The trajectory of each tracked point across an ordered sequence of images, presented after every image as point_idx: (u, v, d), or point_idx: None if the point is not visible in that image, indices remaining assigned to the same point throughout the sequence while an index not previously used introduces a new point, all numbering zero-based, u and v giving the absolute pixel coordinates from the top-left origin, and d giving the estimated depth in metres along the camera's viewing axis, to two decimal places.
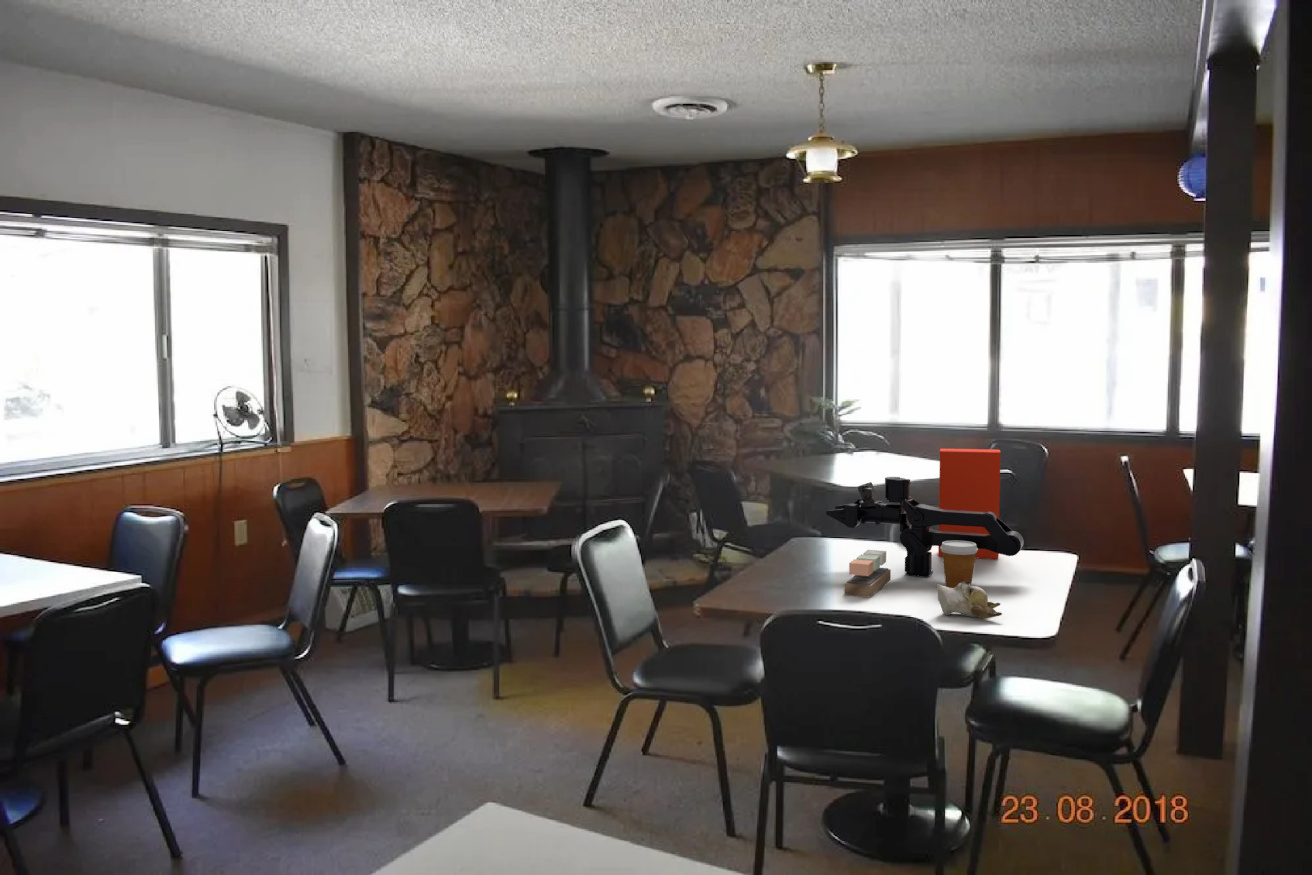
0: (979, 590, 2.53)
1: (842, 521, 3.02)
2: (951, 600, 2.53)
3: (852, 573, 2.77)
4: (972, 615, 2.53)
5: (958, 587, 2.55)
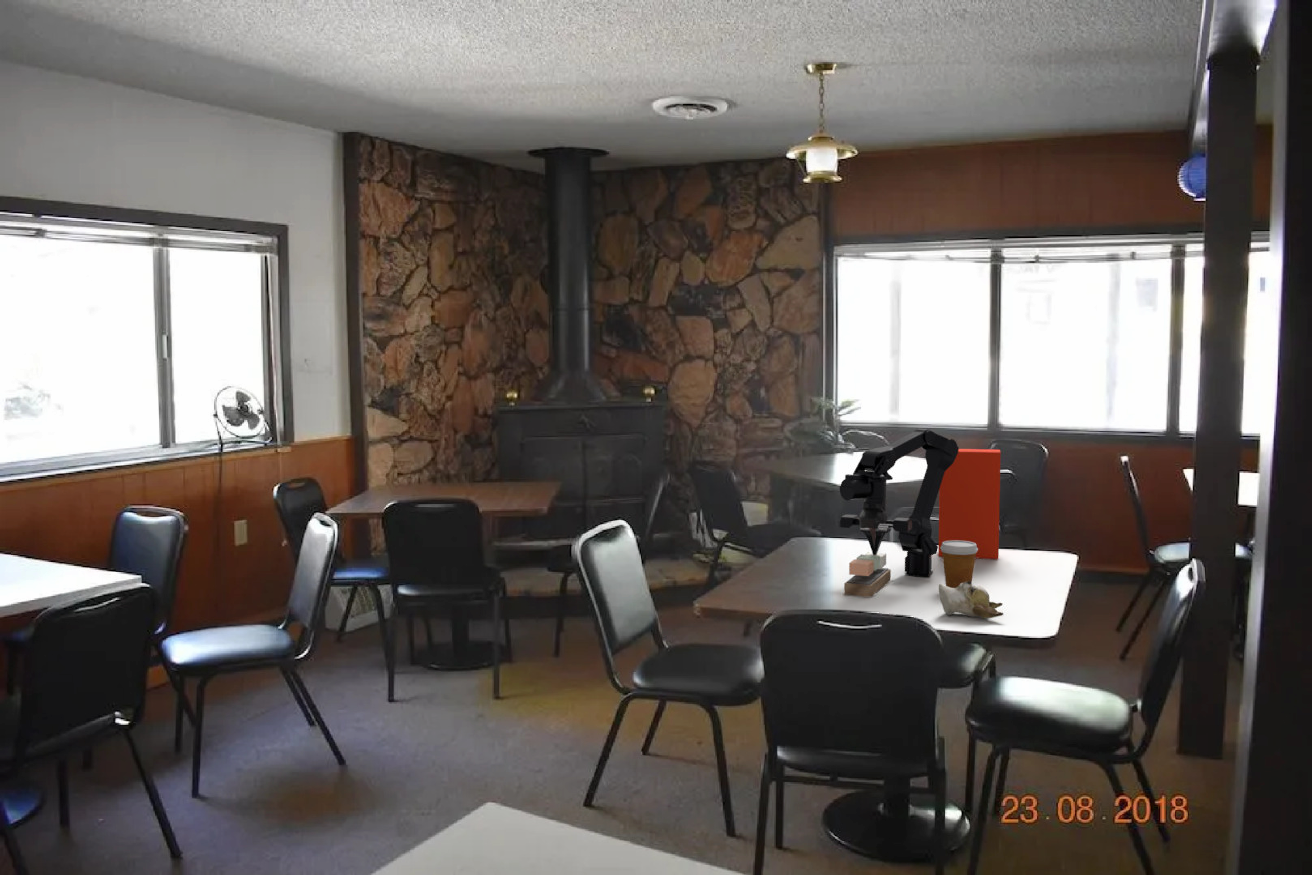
0: (981, 590, 2.53)
1: (884, 534, 2.91)
2: (953, 600, 2.53)
3: (852, 573, 2.77)
4: (974, 615, 2.53)
5: (960, 587, 2.55)
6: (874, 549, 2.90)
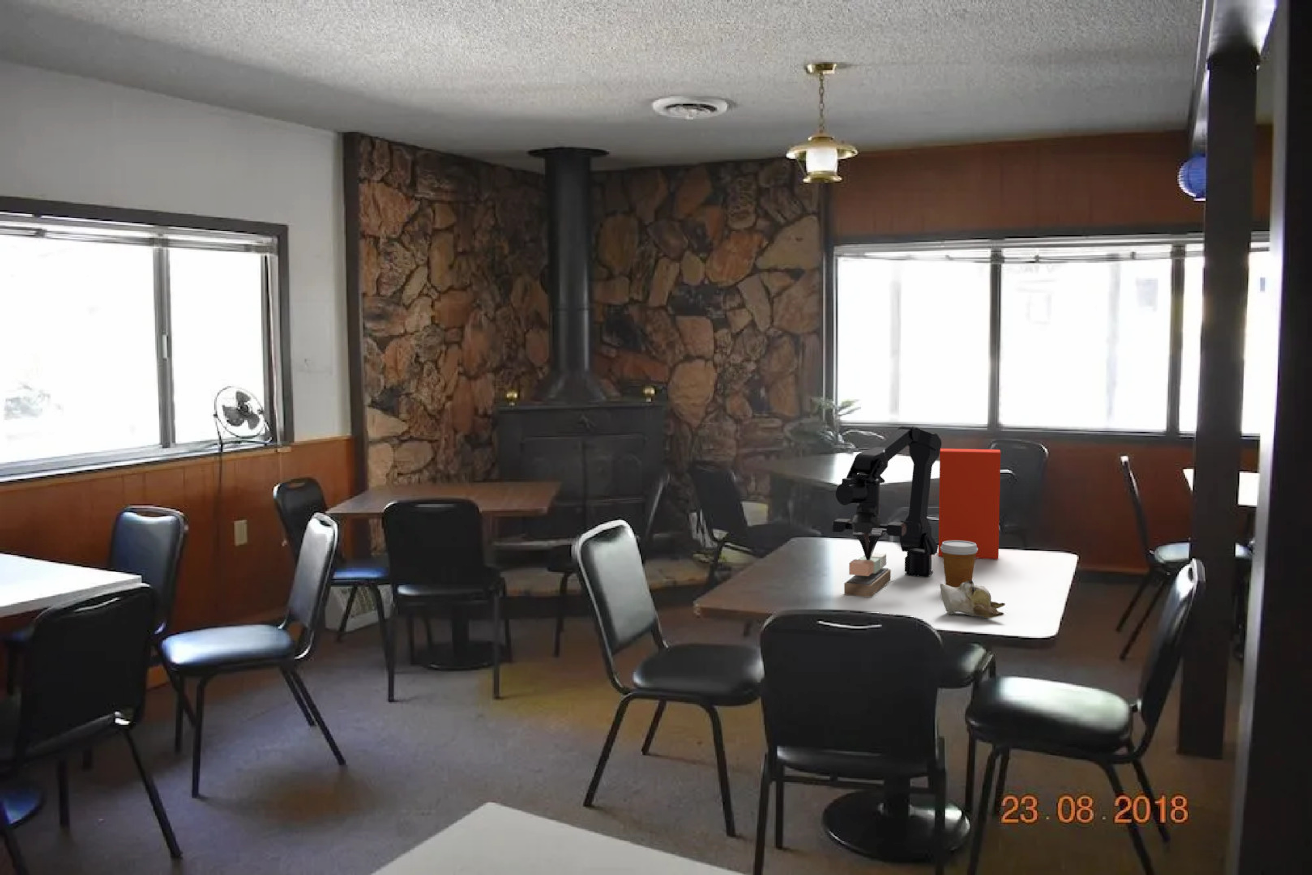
0: (982, 590, 2.53)
1: (877, 539, 2.85)
2: (954, 599, 2.54)
3: (852, 573, 2.77)
4: (975, 615, 2.53)
5: (961, 586, 2.55)
6: (867, 554, 2.84)
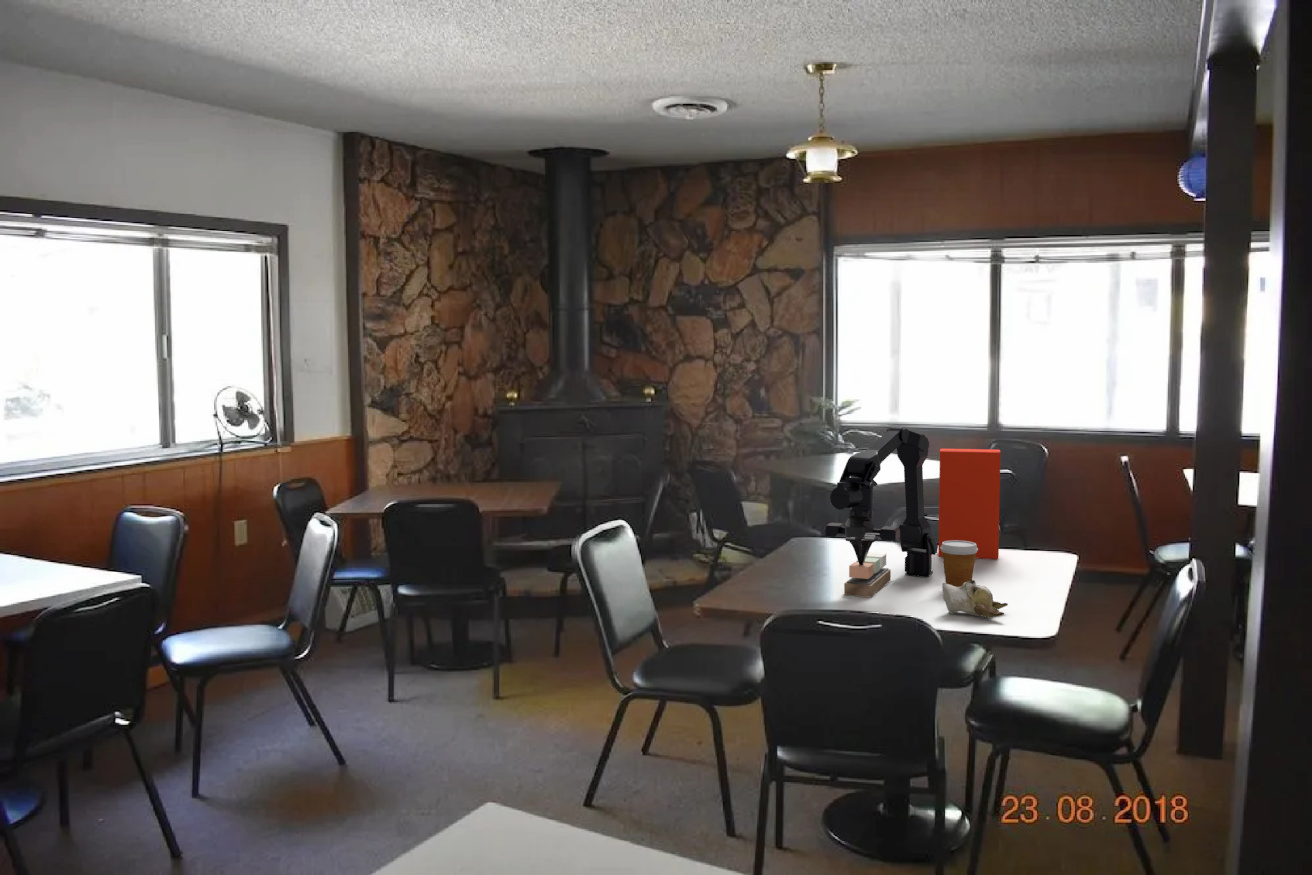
0: (983, 589, 2.53)
1: (870, 543, 2.79)
2: (955, 598, 2.54)
3: (852, 576, 2.77)
4: (976, 614, 2.54)
5: (963, 586, 2.56)
6: (860, 559, 2.77)
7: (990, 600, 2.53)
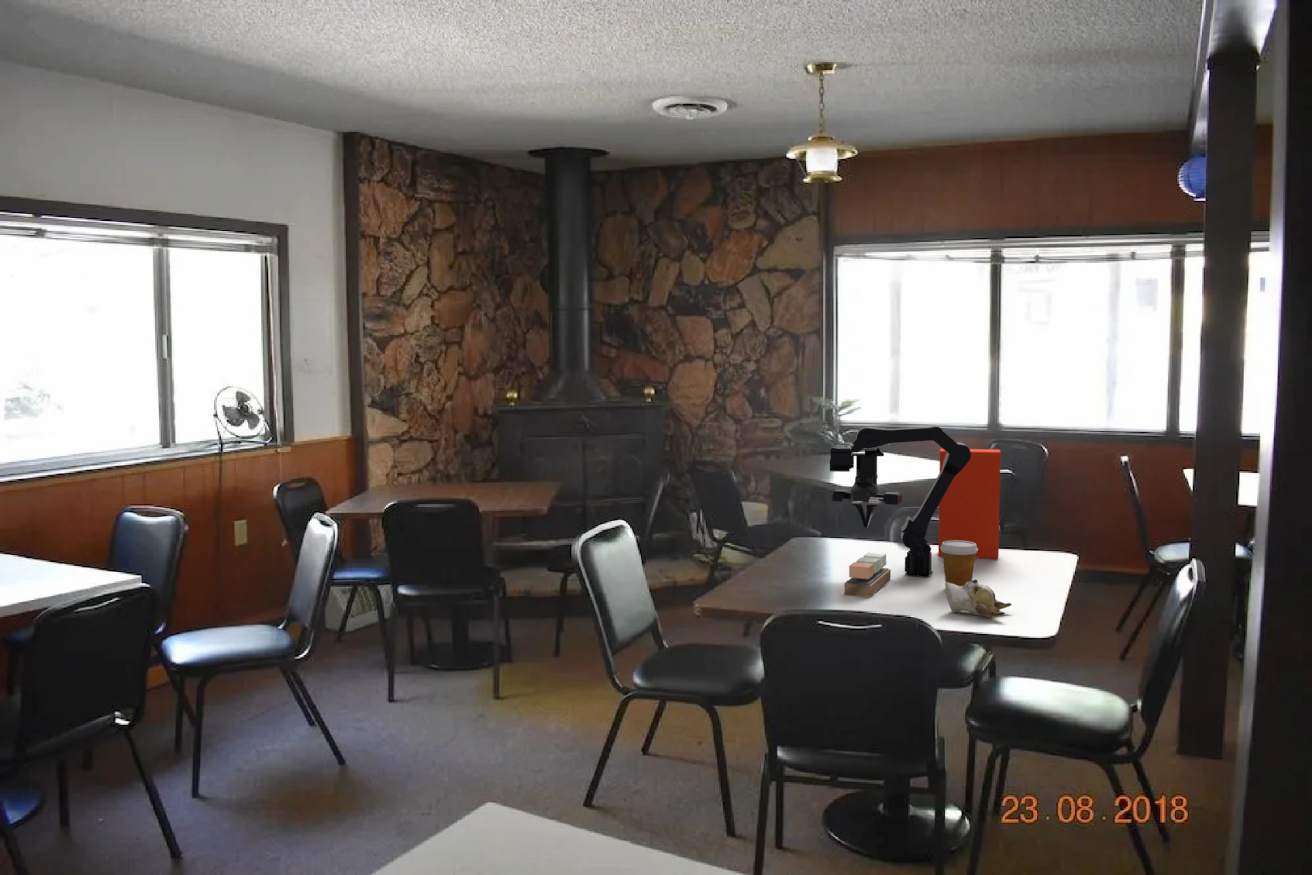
0: (985, 589, 2.54)
1: (874, 508, 3.02)
2: (957, 598, 2.55)
3: (852, 576, 2.77)
4: (978, 614, 2.54)
5: (965, 585, 2.56)
6: (865, 522, 3.00)
7: (992, 600, 2.53)
